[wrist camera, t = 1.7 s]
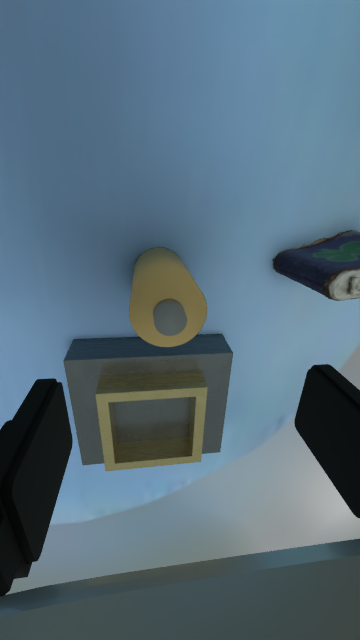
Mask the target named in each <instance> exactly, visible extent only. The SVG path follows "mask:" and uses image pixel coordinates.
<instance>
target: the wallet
mask: <svg viewBox="0 0 360 640" xmlns="http://www.w3.org/2000/svg"><path fill="white" fill-rule="evenodd" d="M338 234H339V235H337V236H334V237H331V238H327V239H326V238H324V239H319V240H317V241H315V242H313V243H312V244H311V245H309V246H305V245H303V246H302V247H300V248H298V249H293V248H292V249H289V250H285V251H281V252H280V253H278V255H277V256H276V257H275V258H274V259H273V261H274V269H275V271H276V272H278V273H280V274H282V275H285V276H287V277H288V278H290V279H292V280H294V281H297V282H299V283H301V284H303V285H305V286H307V287H309V288H311V289H312V290H315V291H317V292H319V293H321V294H323V295H324V296H326V297H328V298H329V299H333V300H336V301H340V300H347V299H357V298H360V232H359V231H347V232H341V233H338Z"/></svg>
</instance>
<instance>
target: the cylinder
mask: <svg viewBox="0 0 360 640" xmlns="http://www.w3.org/2000/svg"><path fill="white" fill-rule="evenodd" d="M129 316H130V321H131V325H132V327H133V329H134V330H135V332H136V333H137V334H138V336H140V337H141V338H142V339H143V340H144V341H146V342H148V343H150V344H152V345H155V346H159V347H174V346H178V345H181V344H184V343H186V342H188V341H189V340H191V339H192V338H194V337H195V336H196V335H197V334H198V333H199V331H200V330H201V328H202V327H203V325H204V323H205V320H206V316H207V304H206V300H205V297H204V295H203V293H202V292H201V290H200V289H199V287H198V285H197V284H196V282H195V281H194V279H193V278H192V276H191V274H190V273H189V271H188V270H187V268H186V267H185V265H184V263H183V262H182V260H181V259H180V257H179V256H178V255H177V254H176V253H175V252H173V251H172V250H170V249H167V248H162V247H156V248H152V249H149V250H147V251H145V252H144V253H142V254H141V255H140V256H139V258H138V259H137V261H136V263H135V266H134V272H133V281H132V290H131V299H130V308H129Z"/></svg>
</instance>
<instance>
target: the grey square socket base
mask: <svg viewBox="0 0 360 640" xmlns="http://www.w3.org/2000/svg"><path fill="white" fill-rule="evenodd" d="M232 357H233V352H232V350H231V349H230V347H229V345H228V344H227V342H226V340H225V338H224V337H223V335H222V334H212V335H196V336H195V337H194V338H192V339H191V340H189V341H188V342H186V343H184V344H181V345H178V346H174V347H159V346H155V345H152V344H150V343H148V342H146V341H144V340H143V339H142V338H141V337H130V338H102V339H74V340H73V342H72V344H71V346H70V348H69V350H68V352H67V355H66V357H65V359H64V366H65V372H66V377H67V382H68V388H69V393H70V399H71V404H72V410H73V415H74V421H75V426H76V431H77V437H78V442H79V448H80V453H81V459H82V464H83V465H90V464H101V463H105V470H106V471H113V470H123V469H133V468H143V467H153V466H163V465H173V464H183V463H193V462H201V455H202V454H205V453H215V452H220V448H221V441H222V433H223V426H224V418H225V410H226V403H227V395H228V387H229V380H230V372H231V364H232Z"/></svg>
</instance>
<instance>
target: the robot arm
mask: <svg viewBox="0 0 360 640" xmlns="http://www.w3.org/2000/svg"><path fill="white" fill-rule="evenodd" d="M295 427H296V429H297V431H298V432H299V434H300V436H301V437H302V438H303V440H304V441H305V443H306V444H307V446H308V447H309V449H310V450H311V452H312V453H313V455H314V456H315V458H316V459H317V461H318V462H319V464H320V465H321V467H322V468H323V470H324V471H325V473H326V474H327V475H328V477H329V479H330V480H331V481H332V483H333V484H334V486H335V487H336V489H337V490H338V492H339V493H340V495H341V496H342V498H343V499H344V501H345V502H346V504H347V505H348V507H349V508H350V510H351V511H352V512H353V514H354V515H355V516H356V517H358V518H360V390H359V389H357V388H356V387H355V386H354V385H353V384H352V383H350V382H349V381H348V380H347V379H346V378H345V377H344V376H342V375H341V374H340V373H339V372H338V371H337V370H336V369H334V368H333V367H332V366H331V365H328V364H325V365H314V366H312V367H311V369H309V370H308V372H307V375H306V379H305V383H304V387H303V391H302V394H301V398H300V402H299V406H298V409H297V413H296V417H295ZM71 449H72V434H71V428H70V423H69V418H68V412H67V407H66V401H65V396H64V391H63V386H62V383H61V382H57V381H56V379H38V380H36V381H35V383H34V385H33V386H32V388H31V390H30V391H29V393H28V395H27V396H26V398H25V399H24V401H23V403H22V404H21V406H20V408H19V409H18V411H17V413H16V414H15V416H14V418H13V419H12V420H9V421H7V422H6V423H5V424H4V425H3V426H2V428H1V430H0V640H360V539H354V540H348V541H340V542H333V543H325V544H318V545H312V546H304V547H297V548H290V549H283V550H276V551H269V552H262V553H255V554H248V555H241V556H235V557H228V558H221V559H214V560H207V561H201V562H194V563H187V564H181V565H174V566H167V567H160V568H154V569H147V570H140V571H134V572H127V573H120V574H115V575H108V576H102V577H96V578H90V579H84V580H79V581H72V582H67V583H61V584H55V585H49V586H44V587H39V588H35V589H30V590H26V591H21V592H17V593H13V594H8V595H5V594H6V593H7V592H9V591H10V588H11V585H12V582H13V579H16V578H23V577H28V574H29V571H30V567H31V564H32V562H34V561H38V559H39V557H40V554H41V552H42V548H43V544H44V541H45V538H46V534H47V531H48V528H49V524H50V521H51V517H52V514H53V511H54V507H55V504H56V500H57V497H58V493H59V490H60V487H61V483H62V480H63V476H64V473H65V469H66V466H67V463H68V459H69V456H70V452H71Z"/></svg>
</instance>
